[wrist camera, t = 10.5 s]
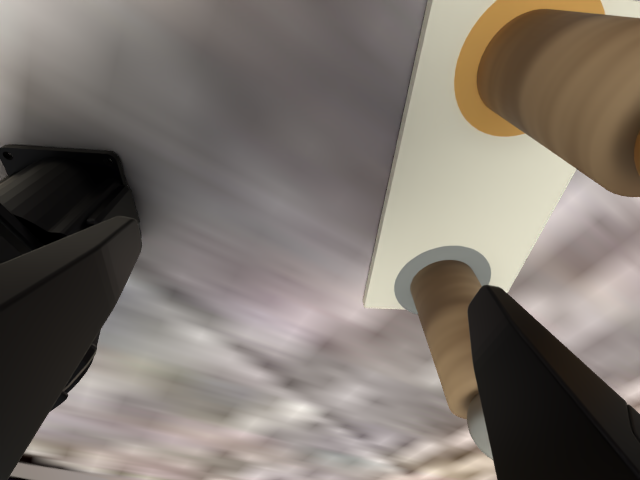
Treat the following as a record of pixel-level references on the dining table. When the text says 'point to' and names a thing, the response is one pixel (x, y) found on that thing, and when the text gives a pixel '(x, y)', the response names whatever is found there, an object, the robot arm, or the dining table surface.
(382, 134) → the dining table surface
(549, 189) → the card
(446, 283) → the grey ball tube
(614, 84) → the orange ball tube
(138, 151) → the dining table surface
